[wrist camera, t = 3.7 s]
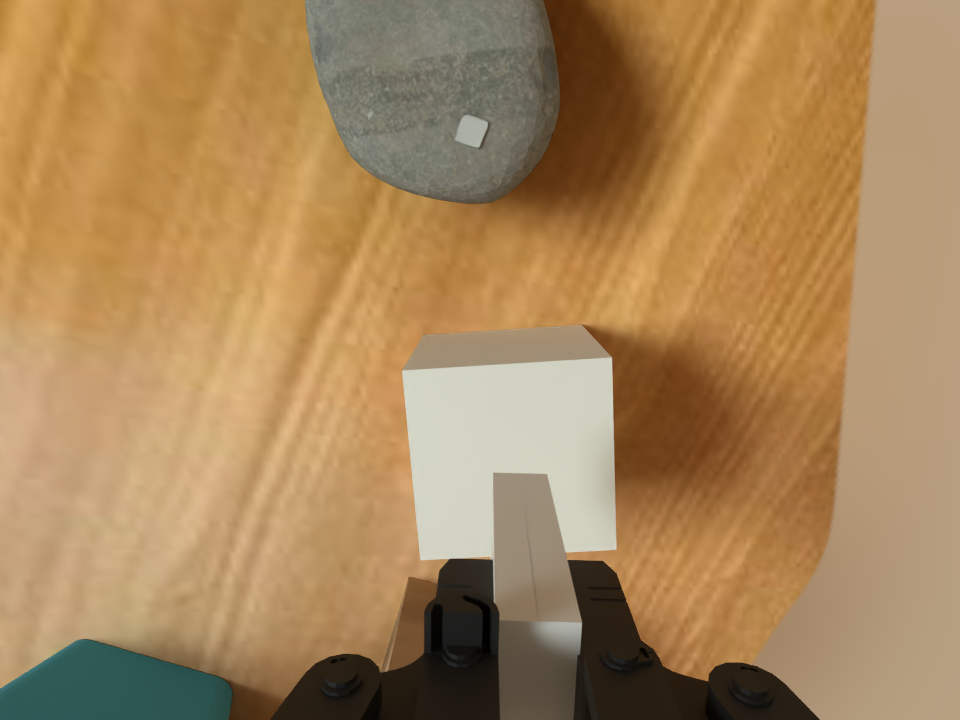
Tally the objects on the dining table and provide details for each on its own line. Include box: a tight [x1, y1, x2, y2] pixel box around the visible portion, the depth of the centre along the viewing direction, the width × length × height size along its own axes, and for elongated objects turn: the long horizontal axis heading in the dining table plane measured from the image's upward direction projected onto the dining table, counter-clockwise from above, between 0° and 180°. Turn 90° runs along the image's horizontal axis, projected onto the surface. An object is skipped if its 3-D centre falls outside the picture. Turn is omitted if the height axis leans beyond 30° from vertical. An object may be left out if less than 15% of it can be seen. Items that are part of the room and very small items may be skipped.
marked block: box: [381, 577, 438, 672], centre depth 27 cm, size 7×7×7 cm
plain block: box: [402, 325, 616, 560], centre depth 25 cm, size 7×7×7 cm
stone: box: [305, 0, 560, 204], centre depth 23 cm, size 9×9×10 cm
